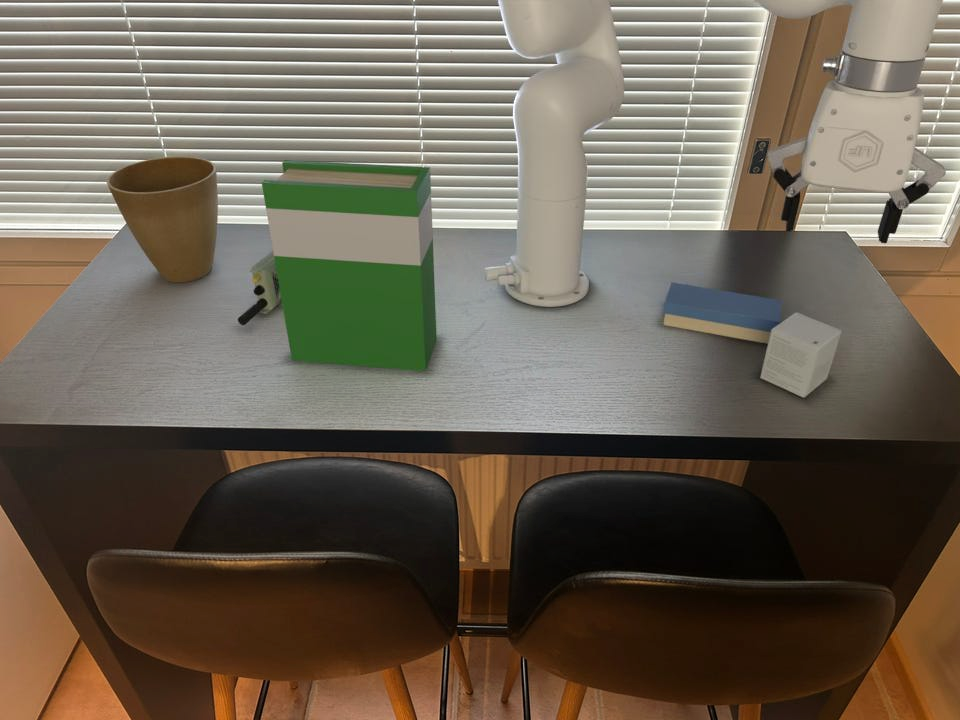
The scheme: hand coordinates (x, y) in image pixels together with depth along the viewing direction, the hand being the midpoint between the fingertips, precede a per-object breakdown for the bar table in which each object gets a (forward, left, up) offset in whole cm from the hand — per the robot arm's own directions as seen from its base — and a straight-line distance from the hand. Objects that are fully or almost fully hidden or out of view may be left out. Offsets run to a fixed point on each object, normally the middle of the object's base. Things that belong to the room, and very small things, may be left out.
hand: (834, 232), depth 85 cm
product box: (-1, -1, -20) cm, 20 cm away
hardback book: (-51, +21, -20) cm, 58 cm away
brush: (-3, +13, -19) cm, 24 cm away
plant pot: (-74, +51, -20) cm, 92 cm away
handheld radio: (-59, +41, -20) cm, 74 cm away
